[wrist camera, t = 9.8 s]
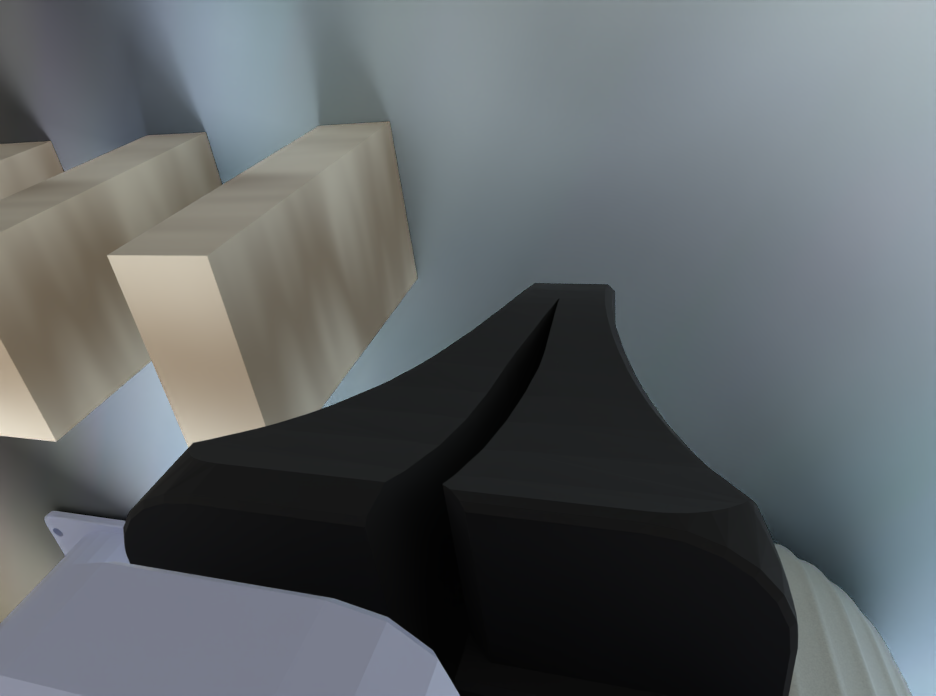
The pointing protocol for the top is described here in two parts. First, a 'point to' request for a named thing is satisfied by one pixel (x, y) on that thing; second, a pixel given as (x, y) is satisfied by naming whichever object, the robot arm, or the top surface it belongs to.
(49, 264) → the domino
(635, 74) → the top surface
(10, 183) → the domino
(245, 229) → the domino
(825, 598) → the canister
